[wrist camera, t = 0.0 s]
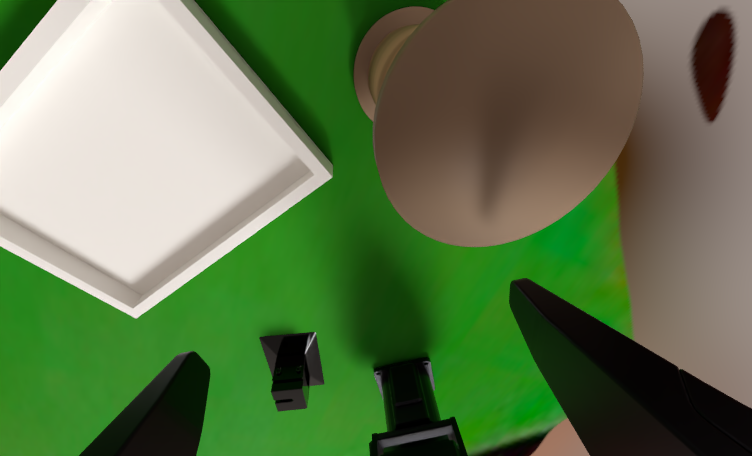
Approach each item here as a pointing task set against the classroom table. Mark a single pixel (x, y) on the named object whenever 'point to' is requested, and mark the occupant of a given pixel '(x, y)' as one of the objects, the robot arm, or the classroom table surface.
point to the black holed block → (293, 368)
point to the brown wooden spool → (497, 110)
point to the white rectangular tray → (140, 149)
